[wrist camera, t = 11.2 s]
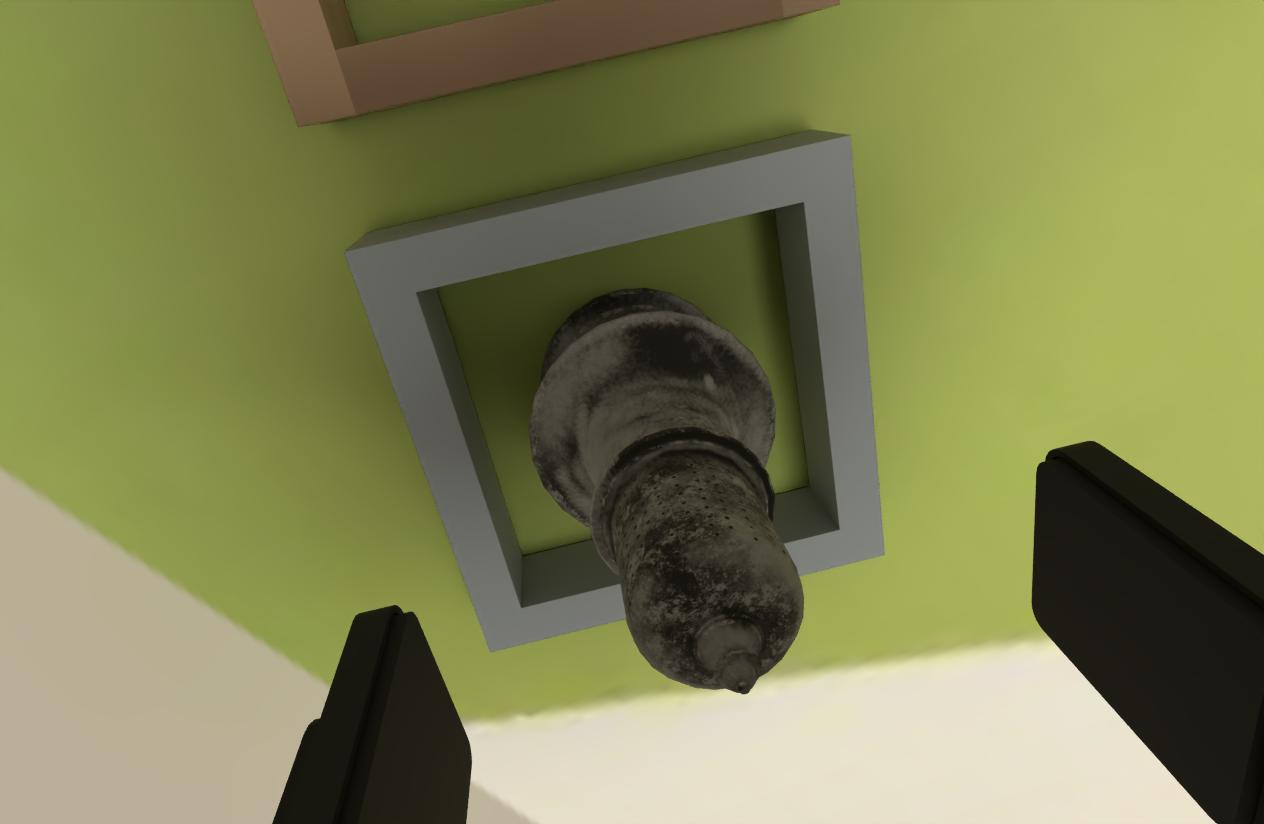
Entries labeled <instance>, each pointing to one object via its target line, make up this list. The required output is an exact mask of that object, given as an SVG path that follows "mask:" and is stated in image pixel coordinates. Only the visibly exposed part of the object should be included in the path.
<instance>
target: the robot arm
mask: <svg viewBox="0 0 1264 824" xmlns="http://www.w3.org/2000/svg"><path fill="white" fill-rule="evenodd" d="M1032 609H1033V613H1034V615H1035V618H1036V620H1037V622H1038V624H1039V625H1040V627H1041V628H1042V629H1043V631H1044V632H1045V633H1046V634H1047V635H1048V636H1049V637H1050V638H1051V640H1052V641H1053V642H1054V643H1055V644H1056V645H1057V646H1058V647H1059V648H1060V650H1061V651H1062V652H1063V653H1064V654H1065V655H1066V656H1067V657H1068V659H1069V660H1070V661H1071V662H1072V663H1073V664H1074V665H1075V666H1076V668H1077V669H1078V670H1079V671H1080V672H1081V673H1082V674H1083V675H1084V677H1085V678H1086V679H1087V680H1088V681H1089V682H1090V683H1091V684H1092V685H1093V687H1094V688H1095V689H1096V690H1097V691H1098V692H1099V693H1100V694H1101V696H1102V697H1103V698H1104V699H1105V700H1106V701H1107V702H1108V703H1109V705H1110V706H1111V707H1112V708H1113V709H1114V710H1115V711H1116V712H1117V714H1118V715H1119V716H1120V717H1121V718H1122V719H1123V720H1124V721H1125V723H1126V724H1127V725H1128V726H1129V727H1130V728H1131V729H1132V730H1133V731H1134V733H1135V734H1136V735H1137V736H1138V737H1139V738H1140V739H1141V740H1142V742H1143V743H1144V744H1145V745H1146V746H1147V747H1148V748H1149V749H1150V751H1151V752H1152V753H1153V754H1154V755H1155V756H1156V757H1157V758H1158V760H1159V761H1160V762H1161V763H1162V764H1163V765H1164V766H1165V767H1166V768H1167V770H1168V771H1169V772H1170V773H1171V774H1172V775H1173V776H1174V777H1175V779H1176V780H1177V781H1178V782H1179V783H1180V784H1181V785H1182V786H1183V788H1184V789H1185V790H1186V791H1187V792H1188V793H1189V794H1190V795H1191V797H1192V798H1193V799H1194V800H1195V801H1196V802H1197V803H1198V804H1199V806H1200V807H1201V808H1202V809H1203V810H1204V811H1205V812H1206V813H1207V814H1208V816H1209V817H1210V818H1211V819H1212V820H1213V821H1215V822H1216V823H1217V824H1264V555H1263V554H1261V553H1260V552H1259V551H1257V550H1256V549H1254V548H1253V547H1251V546H1250V545H1248V544H1247V543H1245V542H1244V541H1242V540H1241V539H1239V538H1238V537H1236V536H1235V535H1233V534H1232V533H1230V532H1229V531H1227V530H1226V529H1225V528H1223V527H1222V526H1220V525H1219V524H1217V523H1216V522H1214V521H1213V520H1211V519H1210V518H1208V517H1207V516H1205V515H1204V514H1202V513H1201V512H1199V511H1198V510H1196V509H1195V508H1193V507H1192V506H1191V505H1189V504H1188V503H1186V502H1185V501H1183V500H1182V499H1180V498H1179V497H1177V496H1176V495H1174V494H1173V493H1171V492H1170V491H1168V490H1167V489H1165V488H1164V487H1162V486H1161V485H1159V484H1158V483H1157V482H1155V481H1154V480H1152V479H1151V478H1149V477H1148V476H1146V475H1145V474H1143V473H1142V472H1140V471H1139V470H1137V469H1136V468H1134V467H1133V466H1131V465H1130V464H1128V463H1127V462H1125V461H1124V460H1122V459H1121V458H1120V457H1118V456H1117V455H1115V454H1114V453H1112V452H1111V451H1109V450H1108V449H1106V448H1105V447H1103V446H1102V445H1100V444H1098V443H1096V442H1094V441H1086V442H1082V443H1078V444H1073V445H1069V446H1065V447H1061V448H1057V449H1053V450H1051V451H1049V452H1048V454H1047V456H1046V460H1045V462H1042V463H1040V464H1039V465H1038V467H1037V472H1036V498H1035V525H1034V553H1033V580H1032ZM471 768H472V756H471V748H470V743H469V740H468V737H467V735H466V732H465V730H464V728H463V725H462V723H461V720H460V718H459V716H458V713H457V711H456V709H455V706H454V704H453V701H452V699H451V697H450V694H449V692H448V690H447V687H446V685H445V682H444V680H443V678H442V675H441V673H440V671H439V668H438V666H437V664H436V661H435V659H434V656H433V654H432V652H431V649H430V647H429V645H428V642H427V640H426V637H425V635H424V633H423V630H422V628H421V626H420V623H419V621H418V619H417V617H416V615H415V614H414V613H413V612H407V613H403V611H402V609H401V608H400V607H399V606H397V605H393V606H389V607H384V608H380V609H376V610H372V611H368V612H363V613H359V614H357V615H356V616H355V618H354V620H353V622H352V625H351V628H350V631H349V634H348V637H347V640H346V643H345V646H344V649H343V652H342V655H341V658H340V661H339V664H338V667H337V670H336V673H335V676H334V679H333V682H332V685H331V688H330V691H329V694H328V697H327V700H326V703H325V706H324V709H323V712H322V715H321V718H320V719H315V720H314V721H313V722H311V723H310V724H309V725H308V727H307V729H306V731H305V733H304V735H303V738H302V741H301V744H300V747H299V749H298V752H297V755H296V758H295V761H294V764H293V767H292V769H291V772H290V775H289V778H288V781H287V783H286V786H285V789H284V792H283V795H282V798H281V801H280V803H279V806H278V809H277V812H276V815H275V817H274V820H273V823H272V824H466V819H467V809H468V799H469V787H470V778H471Z"/></svg>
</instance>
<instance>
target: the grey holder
mask: <svg viewBox="0 0 1264 824" xmlns="http://www.w3.org/2000/svg"><path fill="white" fill-rule="evenodd" d="M771 209H775V215H776V223H777V231H778V239H779V247H780V255H781V263H782V271H783V279H784V286H785V294H786V302H787V310H788V318H789V326H790V334H791V342H792V350H793V358H794V366H795V374H796V382H797V390H798V398H799V406H800V414H801V422H802V430H803V438H804V446H805V454H806V462H807V470H808V478H809V487H805V488H801V489H797V490H793V491H789V492H785V493H781V494H777V495H775V518H774V521H773V526H774V527H775V529H776V531H777V533H778V535H779V536H780V538H781V540H782V542H783V544H784V545H785V547H786V549H787V551H788V553H789V554H790V556H791V558H792V560H793V562H794V564H795V565H796V567H797V570H798V574H799V576H802V575H806V574H810V573H814V572H818V571H822V570H826V569H830V568H834V567H838V566H842V565H846V564H850V563H854V562H858V561H862V560H866V559H871V558H875V557H879V556H883V555H885V552H884V540H883V528H882V516H881V503H880V491H879V479H878V467H877V454H876V442H875V430H874V418H873V405H872V393H871V381H870V369H869V356H868V344H867V332H866V320H865V307H864V295H863V283H862V271H861V258H860V246H859V234H858V222H857V209H856V197H855V185H854V173H853V160H852V148H851V136H850V135H846V134H839V133H832V132H825V131H818V130H809V131H805V132H801V133H796V134H792V135H788V136H783V137H779V138H775V139H770V140H766V141H762V142H757V143H753V144H749V145H744V146H740V147H736V148H731V149H727V150H723V151H718V152H714V153H710V154H705V155H701V156H697V157H692V158H688V159H684V160H679V161H675V162H671V163H666V164H662V165H658V166H653V167H649V168H645V169H640V170H636V171H632V172H627V173H623V174H619V175H614V176H610V177H606V178H601V179H597V180H593V181H588V182H584V183H580V184H575V185H571V186H567V187H562V188H558V189H554V190H549V191H545V192H541V193H536V194H532V195H528V196H523V197H519V198H515V199H510V200H506V201H502V202H497V203H493V204H489V205H484V206H480V207H476V208H471V209H467V210H463V211H458V212H454V213H450V214H445V215H441V216H437V217H432V218H428V219H424V220H419V221H415V222H411V223H406V224H402V225H398V226H393V227H389V228H385V229H380V230H376V231H372V232H367V233H366V234H365V235H364V236H363V237H361V238H360V239H359V240H358V241H357V242H355V243H354V244H353V245H352V246H351V247H350V248H348V249H347V250H346V251H345V252H344V254H345V257H346V259H347V262H348V265H349V268H350V270H351V273H352V276H353V278H354V281H355V284H356V287H357V289H358V292H359V295H360V298H361V300H362V303H363V306H364V309H365V311H366V314H367V317H368V319H369V322H370V325H371V328H372V330H373V333H374V336H375V339H376V341H377V344H378V347H379V350H380V352H381V355H382V358H383V360H384V363H385V366H386V369H387V371H388V374H389V377H390V380H391V382H392V385H393V388H394V391H395V393H396V396H397V399H398V401H399V404H400V407H401V410H402V412H403V415H404V418H405V421H406V423H407V426H408V429H409V432H410V434H411V437H412V440H413V443H414V445H415V448H416V451H417V453H418V456H419V459H420V462H421V464H422V467H423V470H424V473H425V475H426V478H427V481H428V484H429V486H430V489H431V492H432V494H433V497H434V500H435V503H436V505H437V508H438V511H439V514H440V516H441V519H442V522H443V525H444V527H445V530H446V533H447V535H448V538H449V541H450V544H451V546H452V549H453V552H454V555H455V557H456V560H457V563H458V566H459V568H460V571H461V574H462V576H463V579H464V582H465V585H466V587H467V590H468V593H469V596H470V598H471V601H472V604H473V607H474V609H475V612H476V615H477V617H478V620H479V623H480V626H481V628H482V631H483V634H484V637H485V639H486V642H487V645H488V648H489V650H490V652H494V651H498V650H502V649H506V648H510V647H514V646H519V645H523V644H527V643H531V642H535V641H539V640H543V639H547V638H551V637H555V636H559V635H563V634H567V633H571V632H575V631H579V630H583V629H587V628H591V627H595V626H599V625H603V624H608V623H612V622H616V621H620V620H624V619H626V614H625V608H624V602H623V597H622V591H621V585H620V579H619V576H618V575H616V574H615V573H614V572H613V571H612V570H611V569H610V568H609V566H608V565H607V564H606V563H605V562H604V560H603V559H602V558H601V557H600V555H599V553H598V550H597V548H596V546H595V543H594V541H593V539H592V540H588V541H584V542H580V543H576V544H572V545H567V546H563V547H559V548H555V549H551V550H547V551H543V552H539V553H535V554H531V555H526V556H522V554H521V551H520V547H519V544H518V541H517V538H516V535H515V532H514V529H513V526H512V523H511V519H510V516H509V513H508V510H507V507H506V504H505V501H504V498H503V495H502V491H501V488H500V485H499V482H498V479H497V476H496V473H495V470H494V466H493V463H492V460H491V457H490V454H489V451H488V448H487V445H486V442H485V438H484V435H483V432H482V429H481V426H480V423H479V420H478V417H477V414H476V410H475V407H474V404H473V401H472V398H471V395H470V392H469V389H468V386H467V382H466V379H465V376H464V373H463V370H462V367H461V364H460V361H459V358H458V354H457V351H456V348H455V345H454V342H453V339H452V336H451V333H450V330H449V326H448V323H447V320H446V317H445V314H444V311H443V308H442V305H441V302H440V298H439V295H438V292H437V289H436V288H437V287H441V286H446V285H450V284H454V283H458V282H463V281H467V280H471V279H476V278H480V277H484V276H488V275H493V274H497V273H501V272H505V271H510V270H514V269H518V268H523V267H527V266H531V265H535V264H540V263H544V262H548V261H553V260H557V259H561V258H565V257H570V256H574V255H578V254H583V253H587V252H591V251H595V250H600V249H604V248H608V247H613V246H617V245H621V244H625V243H630V242H634V241H638V240H643V239H647V238H651V237H655V236H660V235H664V234H668V233H673V232H677V231H681V230H685V229H690V228H694V227H698V226H703V225H707V224H711V223H715V222H720V221H724V220H728V219H733V218H737V217H741V216H745V215H750V214H754V213H758V212H762V211H767V210H771Z"/></svg>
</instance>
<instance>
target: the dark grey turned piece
mask: <svg viewBox="0 0 1264 824" xmlns="http://www.w3.org/2000/svg"><path fill="white" fill-rule="evenodd" d="M541 382H542V383H541V385H540V387H539V389H538V391H537V393H536V395H535V397H534V403H533V409H532V414H531V420H530V425H529V434H530V443H531V452H532V460H533V462H534V465H535V467H536V469H537V472H538V474H539V476H540V479H541V481H542V483H543V486H544V487H545V489H546V490H547V491H548V492H549V493H550V495H551V496H552V497H553V498H554V500H555V501H556V502H557V503H558V504H559V506H560V507H561V508H562V509H563V510H564V511H566V512H567V513H568V514H570V515H571V516H573V517H574V518H576V519H577V520H578V521H580V522H581V523H583V524H584V525H585V526H587V527H590V528H591V536H592V538H593V541H594V543H595V546H596V548H597V550H598V553H599V555H600V557H601V558H602V559H603V560H604V562H605V563H606V564H607V565H608V566H609V568H610V569H611V570H612V571H613V572H614V573H615V574H616V575H618V576H619V579H620V585H621V591H622V597H623V602H624V608H625V614H626V620H627V625H628V627H629V630H630V632H631V634H632V637H633V639H634V642H635V644H636V645H637V647H638V649H639V651H640V653H641V654H642V655H643V656H644V657H645V659H646V660H647V661H648V662H649V663H650V665H651V666H652V667H653V668H654V669H656V670H657V671H659V672H660V673H662V674H664V675H665V676H667V677H668V678H670V679H672V680H675V681H678V682H680V683H683V684H686V685H689V686H692V687H695V688H703V689H713V690H716V689H725V688H726V689H728V690H731V691H734V692H736V693H741V694H747V693H749V691H750V689H752V688H753V686H754V684H755V683H756V681H757V679H758V678H759V677H760V676H762V675H764V674H765V673H767V672H769V671H770V670H771V669H772V668H773V667H774V666H775V665H776V664H777V663H778V662H779V661H780V660H782V658H783V657H784V655H785V654H786V652H787V651H788V649H789V648H790V646H791V645H792V643H793V641H794V640H795V638H796V636H797V634H798V631H799V628H800V625H801V622H802V619H803V610H804V596H803V590H802V585H801V581H800V578H799V574H798V570H797V567H796V565H795V564H794V562H793V560H792V558H791V556H790V554H789V553H788V551H787V549H786V547H785V545H784V544H783V542H782V540H781V538H780V536H779V535H778V533H777V531H776V529H775V527H774V526H773V521H774V518H775V494H774V491H773V487H772V484H771V480H770V476H769V474H768V473H767V471H766V470H765V468H764V467H765V466H766V463H767V460H768V457H769V454H770V450H771V447H772V444H773V441H774V437H775V411H776V407H775V403H774V399H773V395H772V392H771V388H770V384H769V380H768V378H767V376H766V374H765V373H764V371H763V369H762V368H761V366H760V365H759V363H758V361H757V360H756V358H755V356H754V355H753V353H752V352H751V351H750V350H749V349H748V348H747V347H746V346H745V345H743V344H742V343H741V342H740V341H739V340H738V339H737V338H736V337H735V336H733V335H732V334H731V333H730V332H729V331H728V330H726V329H723V328H721V327H719V326H717V325H715V324H713V323H712V322H711V320H710V319H709V318H707V317H706V316H705V315H704V314H703V313H702V312H701V311H700V310H698V309H697V308H696V307H695V306H694V305H693V304H692V303H690V302H687V301H685V300H683V299H681V298H679V297H677V296H675V295H673V294H671V293H668V292H663V291H657V290H652V289H647V288H641V289H627V290H618V291H615V292H612V293H609V294H606V295H604V296H601V297H598V298H595V299H593V300H592V301H590V302H589V303H587V304H586V305H584V306H583V307H581V308H580V309H578V310H577V311H575V312H574V313H573V314H572V315H571V316H570V317H569V318H568V319H567V320H566V322H565V323H564V324H563V325H562V326H561V327H560V328H559V330H558V331H557V332H556V334H555V336H554V338H553V340H552V342H551V344H550V346H549V348H548V350H547V352H546V354H545V360H544V365H543V371H542V376H541Z"/></svg>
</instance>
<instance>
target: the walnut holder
mask: <svg viewBox="0 0 1264 824" xmlns="http://www.w3.org/2000/svg"><path fill="white" fill-rule="evenodd" d="M252 2H253V5H254V8H255V11H256V13H257V16H258V19H259V22H260V24H261V27H262V30H263V32H264V35H265V38H266V41H267V43H268V46H269V49H270V52H271V54H272V57H273V60H274V63H275V65H276V68H277V71H278V73H279V76H280V79H281V82H282V84H283V87H284V90H285V93H286V95H287V98H288V101H289V104H290V106H291V109H292V112H293V114H294V117H295V120H296V123H297V125H298V127H302V126H309V125H315V124H322V123H329V122H333V121H338V120H342V119H346V118H351V117H355V116H360V115H364V114H368V113H373V112H377V111H382V110H386V109H390V108H395V107H399V106H404V105H408V104H413V103H417V102H421V101H426V100H430V99H435V98H439V97H443V96H448V95H452V94H457V93H461V92H465V91H470V90H474V89H479V88H483V87H488V86H492V85H496V84H501V83H505V82H510V81H514V80H518V79H523V78H527V77H532V76H536V75H541V74H545V73H549V72H554V71H558V70H563V69H567V68H571V67H576V66H580V65H585V64H589V63H593V62H598V61H602V60H607V59H611V58H616V57H620V56H624V55H629V54H633V53H638V52H642V51H646V50H651V49H655V48H660V47H664V46H668V45H673V44H677V43H682V42H686V41H691V40H695V39H699V38H704V37H708V36H713V35H717V34H721V33H726V32H730V31H735V30H739V29H743V28H748V27H752V26H757V25H761V24H766V23H770V22H774V21H779V20H783V19H788V18H792V17H796V16H801V15H804V14H808V13H811V12H815V11H818V10H822V9H825V8H829V7H832V6H836V5H840V1H839V0H555V1H551V2H546V3H542V4H538V5H533V6H529V7H524V8H520V9H515V10H511V11H506V12H502V13H497V14H493V15H488V16H484V17H479V18H475V19H471V20H466V21H462V22H457V23H453V24H448V25H444V26H439V27H435V28H430V29H426V30H421V31H417V32H413V33H408V34H404V35H399V36H395V37H390V38H386V39H381V40H377V41H372V42H368V43H363V44H359V45H358V43H357V40H356V37H355V34H354V31H353V28H352V25H351V22H350V18H349V15H348V12H347V9H346V6H345V3H344V0H252Z"/></svg>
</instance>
